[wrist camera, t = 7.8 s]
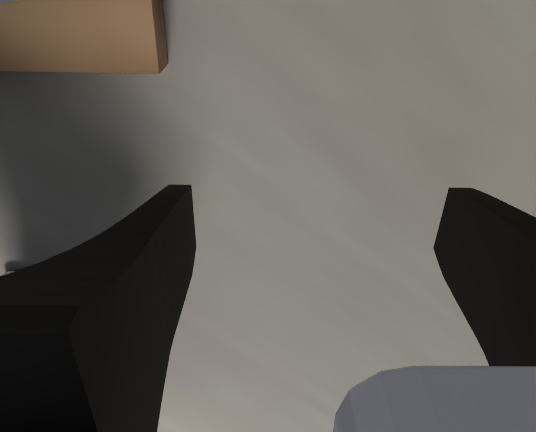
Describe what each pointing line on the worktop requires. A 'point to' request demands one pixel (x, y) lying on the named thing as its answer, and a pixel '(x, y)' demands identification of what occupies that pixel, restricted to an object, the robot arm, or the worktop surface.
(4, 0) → the block
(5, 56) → the base
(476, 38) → the worktop surface
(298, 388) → the worktop surface
